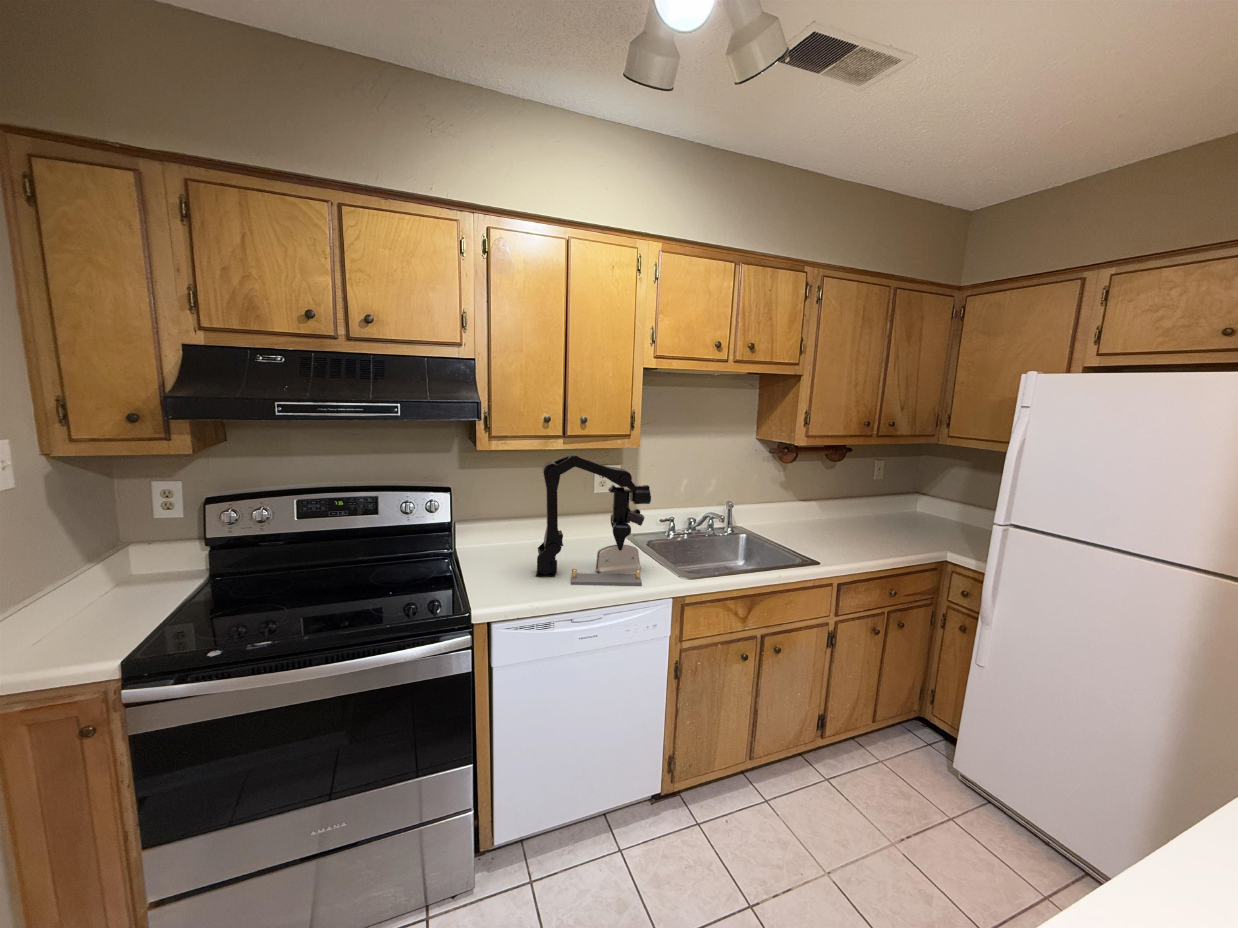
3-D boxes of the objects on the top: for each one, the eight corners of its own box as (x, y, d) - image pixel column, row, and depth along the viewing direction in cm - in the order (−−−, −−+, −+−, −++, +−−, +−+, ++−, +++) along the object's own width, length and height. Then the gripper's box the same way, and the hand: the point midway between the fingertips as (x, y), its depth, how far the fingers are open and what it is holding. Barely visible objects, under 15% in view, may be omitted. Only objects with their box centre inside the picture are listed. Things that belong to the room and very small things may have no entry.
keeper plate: (570, 585, 169) (571, 573, 168) (571, 576, 177) (571, 565, 176) (641, 585, 171) (642, 574, 170) (639, 577, 178) (639, 566, 178)
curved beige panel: (599, 576, 178) (599, 548, 178) (594, 573, 182) (594, 545, 182) (642, 571, 184) (642, 544, 184) (636, 568, 189) (636, 542, 188)
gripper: (646, 511, 171) (644, 555, 173) (640, 499, 189) (638, 539, 192) (614, 510, 170) (612, 554, 173) (611, 498, 189) (609, 538, 191)
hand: (619, 546), depth 182 cm, fingers open, 9 cm apart
